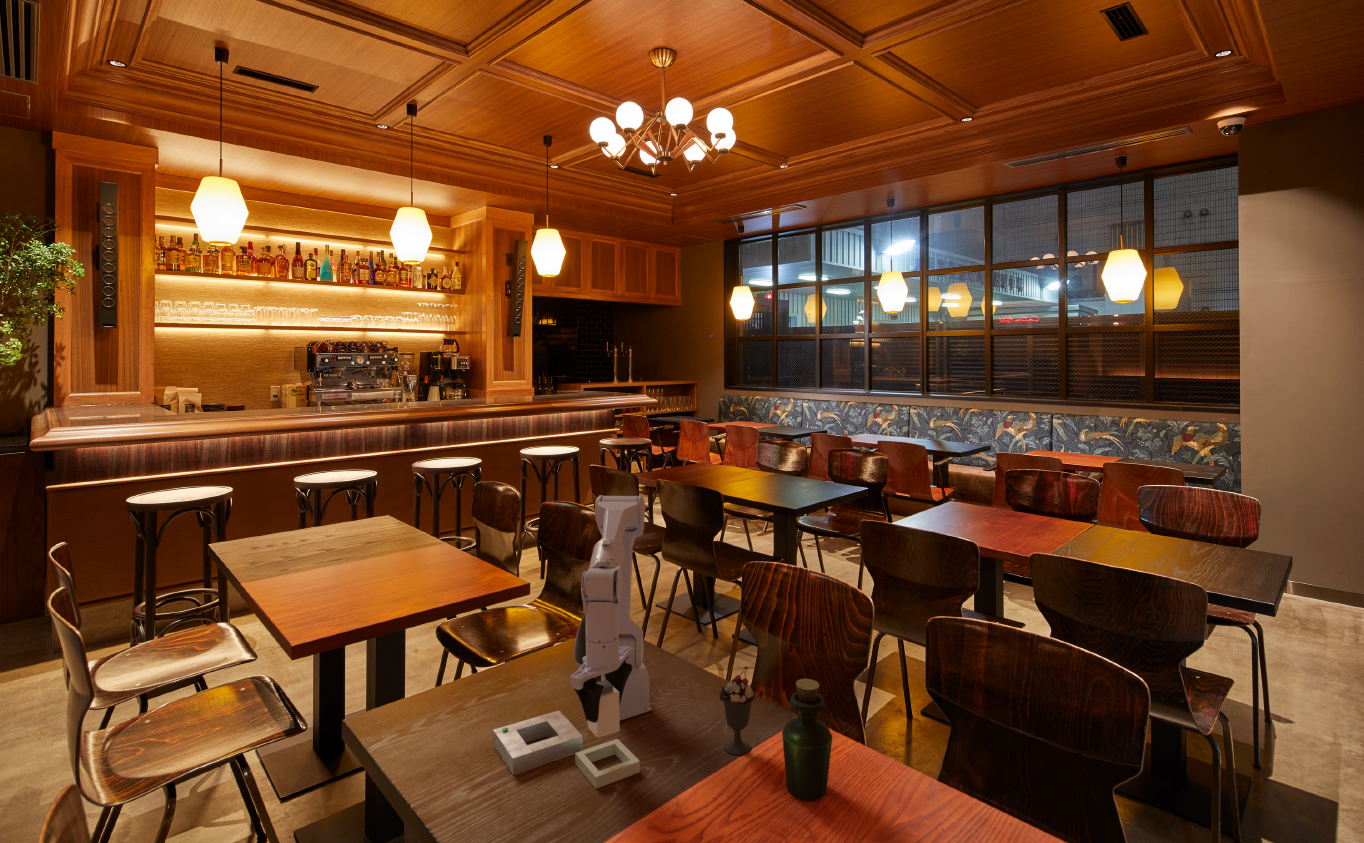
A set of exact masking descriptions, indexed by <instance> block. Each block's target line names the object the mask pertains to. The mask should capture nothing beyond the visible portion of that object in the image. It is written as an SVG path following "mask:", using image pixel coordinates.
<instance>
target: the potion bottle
mask: <svg viewBox="0 0 1364 843" xmlns="http://www.w3.org/2000/svg"><path fill="white" fill-rule="evenodd" d="M795 686H796V690H797V691H795V692H793V693H792V695H791V697H790V700H789V706H790V707H791V708H792V709H793V710H795V711H796V714H797V717H795V718H792V719H790V720H788V721H787V722H786V723H785V725H784V727H783V729H782V732H781V733H782V746H783V748H782V749H783V760H784V769H785V783H786V789H787V791H788V792H789V793H790V794H791V795H792V796H793V797H795V798H796V799H798V800H801V801H805V802H809V801H810V802H814V801H817V800H821V799H822V797H823V796H825V795H826V794H827V791H828V790H827V789H828V782H829V773H830V772H829V770H830V763H831V753H832V752H831V751H832V743H833V735H832V732H831V730H830V729H829V726H828V725H826V724H825V723H824V722H823V721H820V720H819V719H818V715H819V713H821V712H823V711H824V710H825V709H826V707H827V706H826V702H825V699H824V697H823V696H822V695H821V693H819V691H820V690H819V689H820V682H818V681H816V680H815V679H810V678H800V679H798V680H796V682H795Z"/></svg>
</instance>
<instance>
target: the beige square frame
mask: <svg viewBox="0 0 1364 843" xmlns="http://www.w3.org/2000/svg"><path fill="white" fill-rule="evenodd" d="M612 756H616V758H617V759H618V760H619V761H620V763H618V764H616V765H613V766H610V767H608V768H604V769H601V770H599V769H598V768H597V767H596V766H595V765H594V764H593V763H594V762H597V761H600V760H602V759H605V758H608V757H612ZM574 762H575V763H574V764H575V766H576V767H577V768H578V769H579V771H581V773H582V774H583V775H584V776H585V778H586V779H587V780H588V781H589V782H590V784H591V785H592V786H593V787H594V789H595V790H596V789H599V788H602V787H604V786H607V785H610V784H612V783H615V782H618V781H620V780H623V779H626V778H629V777H630V776H634V775H636V774H639V773H641V761H640V759H639V758H638V757H637V756H635V755H634V754H633V752H632V751H631V750H629V749H628V747H626V746H625V744H623V743H622V742H621V741H620V739H618V738H616V739H612V740H609V741H606V742H604V743H601V744H598V745H595V746H592V747H589V748H587V749H586V748H585V749H583V751H580V752H577V753H575V754H574Z"/></svg>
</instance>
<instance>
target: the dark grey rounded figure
mask: <svg viewBox="0 0 1364 843" xmlns="http://www.w3.org/2000/svg"><path fill="white" fill-rule="evenodd" d="M585 615H586V613H584V614H583V616H582V617H581V620H580V622H579V625H578V629H577V632H576V635H575V641H574V647H573V660H574V661H575V664H576V666H577V668H578V669H579V668H580V667H581V666H582V664H583V663H584V662H582V658H583V657H585V656H586V616H585Z"/></svg>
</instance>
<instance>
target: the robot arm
mask: <svg viewBox="0 0 1364 843" xmlns="http://www.w3.org/2000/svg"><path fill="white" fill-rule="evenodd" d="M645 503H646V502H645V498H644V497H643V495H641V494H640V495H603V494H601V495H600V494H599V495H598V497H597V498H596V499H595V505H594V518H595V519H594V520H595V522H596V524H597V525H596V526H597V528H598V530H599V534H600V535H601V536H602V537H601V539H599V541H597V542H596V543H595V544H594V547H593V550H592V553H591V554H592V555H591V558H590V563H589V567H588V569H587V571H586V570H584V571H583V572H582V575H581V580H580V581H581V582H580V591H581V592H580V593H581V601H582V608H583V609H582V610H583V613H584V614H585V613H586V615H585V616H586V656H585V657H583V658H582V662H584V663H583V664H582V666H581V667H580V668H578V669H577V670H576V671H575V672H574V673H573V674H571V675H570V676H569V683H570V688H571V689H573V690H574V691H575V693H576V694H577V696H578V699H579V702H580V703H581V707H582V710H583V713H584V717H585V720H586V721H587V720H588V721H591V722H593V723H595V722H597V721H598V716H599V702H600V697H601V693H602V691H603V688H604V686H602V685H599V684H596V682H597V681H596V678H597V677H600V676H601V677H600V680H601V681H604V680H607V681H608V682H610V683H611V684H612V685H613V687H614V688H615V689H617V690H618V691H619V722H620V721H625V720H626V719H629V718H632V717H635V716H639V715H642V714H645V713H648V712H651V711H652V707H651V706H650V677H649V672H648V668H647V667H646V666H645V664H644V652H645V651H644V650H645V648H644V631H643V628H642V627H641V626H640V625H639V624H637V623H636V622H635V621H634V620H633V619H632V618H631V609H632V608H631V607H632V606H631V605H632V604H631V603H632V597H631V596H632V574H633V573H632V571H633V548H634V544H635V540H636V539H637V538H640V537H641V536H643V535H644V531H645V518H646V517H645V514H646V512H645V511H646V504H645ZM620 634H621V635H620ZM622 634H623V635H622ZM627 634H628V635H627ZM588 721H587V722H588Z"/></svg>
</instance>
